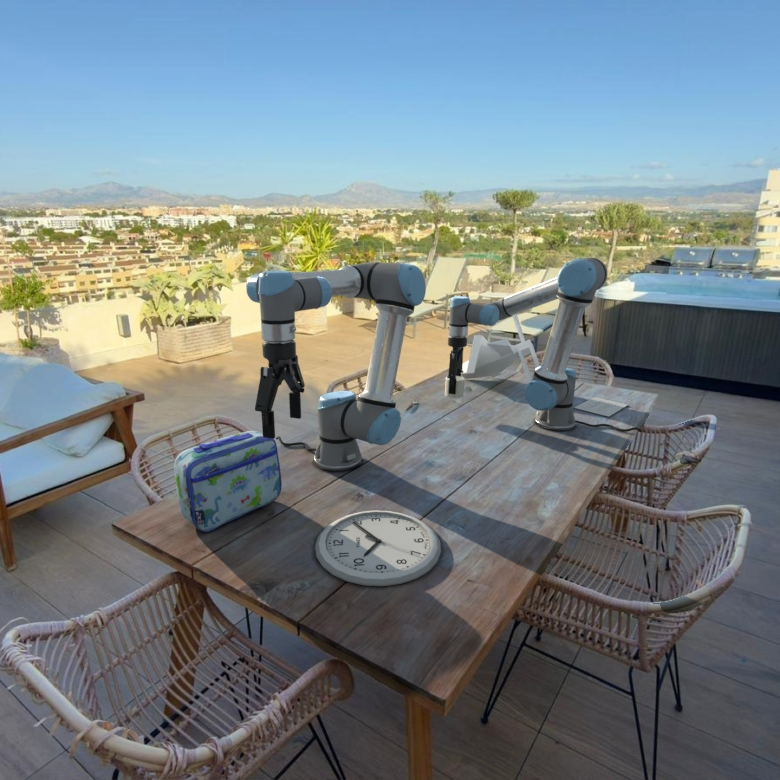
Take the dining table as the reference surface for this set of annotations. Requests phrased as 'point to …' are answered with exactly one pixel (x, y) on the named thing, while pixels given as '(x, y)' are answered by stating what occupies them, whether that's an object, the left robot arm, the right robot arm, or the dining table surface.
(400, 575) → the wall clock
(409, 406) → the fork
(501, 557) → the dining table surface
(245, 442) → the lunch box
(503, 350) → the white plastic object
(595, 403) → the invitation card
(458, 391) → the canister
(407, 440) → the dining table surface
